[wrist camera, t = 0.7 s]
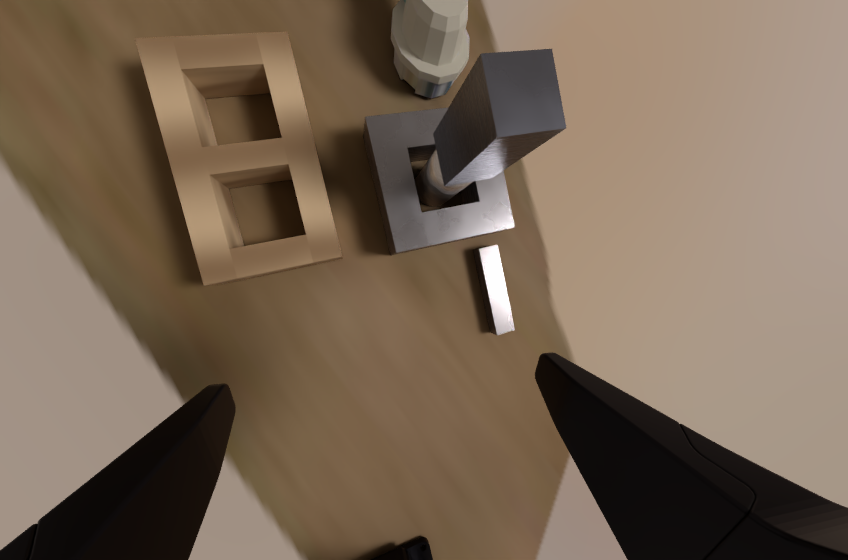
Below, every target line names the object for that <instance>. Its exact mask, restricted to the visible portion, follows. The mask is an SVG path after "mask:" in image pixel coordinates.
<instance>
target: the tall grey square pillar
mask: <svg viewBox="0 0 848 560" xmlns="http://www.w3.org/2000/svg"><path fill="white" fill-rule="evenodd" d="M565 128H566V124H565V118H564V113H563V107H562V102H561V96H560V91H559V86H558V80H557V75H556V69H555V64H554V58H553V53H552V49H543V50H528V51H513V52H498V53H484V54H480V56H479V58H478V59H477V61H476V63H475V64H474V66H473V68H472V69H471V71H470V73H469V74H468V76H467V78H466V79H465V81H464V83H463V84H462V86H461V88H460V89H459V91H458V93H457V94H456V96H455V98H454V100H453V101H452V103H451V105H450V106H449V108H448V110H447V111H446V113H445V115H444V116H443V118H442V120H441V121H440V123H439V125H438V126H437V128H436V130H435V131H434V133H433V136H434V141H435V146H436V150H435V151H434V153H433V154H432V156H431V157H430V159H429V160H428V161H427V163H426V164H425V166H424V167H423V169H422V170H421V172H420V173H419V174H418V176H417V178H416V180H415V186H416V190H417V195H418V198H419V200H420V201H421V202H422V203H424V204H426V205H428V206H432V207H436V206H440V205H442V204H444V203H445V202H447V201H448V200H449V199H451V198H452V197H453V196H455V195H456V194H457V193H459V192H460V191H461V190H463V189H464V188H465V187H467V186H468V185H469V184H471V183H472V182H474V181H480V180H486V179H491V178H493V177H494V176H496V175H497V174H499V173H500V172H502V171H503V170H505V169H506V168H508V167H509V166H511V165H512V164H514V163H515V162H517V161H518V160H520V159H521V158H522V157H524V156H525V155H527V154H528V153H530V152H531V151H533V150H534V149H536V148H537V147H539V146H540V145H542V144H543V143H545V142H546V141H548V140H549V139H551V138H552V137H554V136H555V135H557V134H558V133H560V132H561V131H563V130H564V129H565Z"/></svg>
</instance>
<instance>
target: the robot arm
mask: <svg viewBox="0 0 848 560" xmlns="http://www.w3.org/2000/svg"><path fill="white" fill-rule="evenodd" d="M535 379H536V382H537V384H538V387H539V389H540V391H541V394H542V396H543V398H544V401H545V403H546V406H547V408H548V410H549V413H550V415H551V417H552V420H553V422H554V424H555V426H556V428H557V430H558V432H559V434H560V436H561V438H562V439H563V441H564V443H565V445H566V447H567V449H568V451H569V452H570V454H571V456H572V458H573V460H574V462H575V463H576V465H577V467H578V469H579V471H580V473H581V474H582V476H583V478H584V480H585V482H586V484H587V486H588V487H589V489H590V491H591V493H592V495H593V497H594V498H595V500H596V502H597V504H598V506H599V508H600V510H601V511H602V513H603V515H604V517H605V519H606V521H607V522H608V524H609V526H610V528H611V530H612V532H613V534H614V535H615V537H616V539H617V541H618V542H619V545H620V546H621V548H622V550H623V552H624V554H625V556H626V558H627V559H628V560H848V508H846V507H844V506H841V505H839V504H836V503H834V502H832V501H830V500H827V499H825V498H823V497H821V496H819V495H817V494H815V493H813V492H811V491H809V490H807V489H805V488H803V487H801V486H799V485H797V484H795V483H793V482H791V481H789V480H787V479H785V478H783V477H781V476H779V475H777V474H775V473H773V472H771V471H769V470H767V469H765V468H763V467H761V466H759V465H757V464H755V463H753V462H751V461H749V460H748V459H746V458H744V457H742V456H740V455H738V454H736V453H734V452H732V451H730V450H728V449H726V448H724V447H722V446H720V445H719V444H717V443H715V442H713V441H711V440H709V439H707V438H706V437H704V436H702V435H700V434H698V433H696V432H695V431H693V430H691V429H690V428H688V427H686V426H684V425H682V424H679V423H678V422H677V421H675V420H673V419H671V418H670V417H668V416H666V415H664V414H663V413H661V412H659V411H657V410H656V409H654V408H652V407H650V406H648V405H647V404H645V403H643V402H641V401H640V400H638V399H636V398H634V397H633V396H631V395H629V394H627V393H625V392H623V391H622V390H620V389H618V388H616V387H615V386H613V385H611V384H609V383H607V382H606V381H604V380H602V379H600V378H599V377H596V376H595V375H593V374H592V373H590V372H588V371H586V370H584V369H583V368H581V367H579V366H577V365H576V364H574V363H572V362H570V361H568V360H567V359H565V358H563V357H561V356H560V355H558V354H556V353H543V354H541V355H540V357H539V361H538V364H537V368H536V371H535ZM234 416H235V403H234V400H233V397H232V394H231V391H230V388H229V386H228V385H227V384H224V383H223V384H213V385H209V386H207V387H206V388H204V389H203V390H202V391H201V392H199V393H198V394H197V395H196V396H194V397H193V398H192V399H190V400H189V401H188V402H187V403H185V404H184V405H183V406H182V407H180V408H179V409H178V410H177V411H175V412H174V413H173V414H172V415H170V416H169V417H168V418H167V419H165V420H164V421H163V422H162V423H160V424H159V425H158V426H157V427H156V428H154V429H153V430H151V431H150V432H149V433H148V434H146V435H145V436H144V437H143V438H141V439H140V440H139V441H138V442H136V443H135V444H134V445H133V446H131V447H130V448H129V449H128V450H126V451H125V452H124V453H123V454H121V455H120V456H119V457H118V458H116V459H115V460H114V461H112V462H111V463H110V464H109V465H108V466H106V467H105V468H104V469H102V470H101V471H100V472H99V473H97V474H96V475H95V476H94V477H92V478H91V479H90V480H89V481H88V482H86V483H85V484H84V485H82V486H81V487H80V488H79V489H77V490H76V491H75V492H73V493H72V494H71V495H70V496H68V497H67V498H66V499H65V500H63V501H62V502H61V503H60V504H59V505H57V506H56V507H55V508H54V509H52V510H51V511H50V512H49V513H47V514H46V515H45V516H43V517H42V518H41V519H40V520H39V521H38V524H33V525H32V526H31V527H29V528H28V529H27V530H25V532H23V533H22V534H20V535H19V536H18V537H17V538H15V539H14V540H13V541H12V542H10V543H9V544H8V545H7V546H5V547H4V548H3V549H2V550H0V560H188V559H189V556H190V554H191V551H192V548H193V545H194V543H195V540H196V537H197V534H198V532H199V529H200V526H201V524H202V521H203V518H204V516H205V513H206V510H207V507H208V505H209V502H210V499H211V496H212V494H213V491H214V489H215V486H216V482H217V480H218V477H219V473H220V471H221V467H222V463H223V460H224V456H225V452H226V448H227V444H228V440H229V436H230V432H231V428H232V424H233V420H234ZM422 545H424V546H423V547H421V546H422ZM372 560H433V558H432V554H431V550H430V546H429V542H428V540H427V538H425V537H422V538H419V539H417V540H415V541H412V542H410V543H408V544H406V545H403V546H401V547H399V548H397V549H394V550H392V551H390V552H388V553H385V554H383V555H381V556H379V557H376V558H374V559H372Z"/></svg>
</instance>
